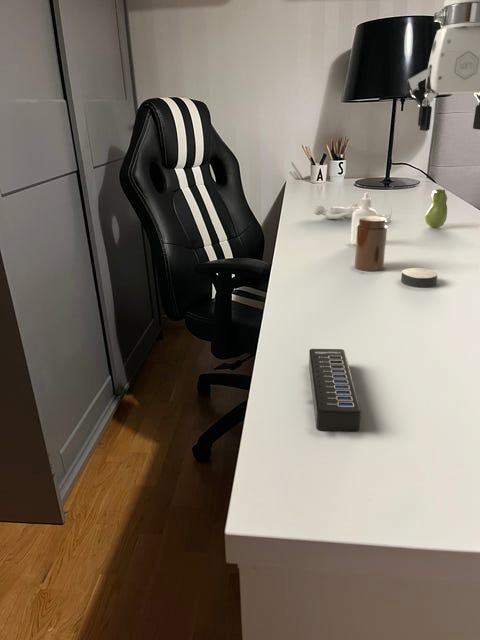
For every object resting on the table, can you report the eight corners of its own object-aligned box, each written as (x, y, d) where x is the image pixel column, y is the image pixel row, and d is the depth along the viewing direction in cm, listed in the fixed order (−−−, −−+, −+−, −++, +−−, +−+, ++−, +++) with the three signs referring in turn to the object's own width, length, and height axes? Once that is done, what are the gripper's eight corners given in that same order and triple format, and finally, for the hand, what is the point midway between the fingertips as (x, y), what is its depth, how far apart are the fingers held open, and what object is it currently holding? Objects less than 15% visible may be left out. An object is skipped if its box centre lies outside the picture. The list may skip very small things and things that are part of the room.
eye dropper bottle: (372, 246, 117) (377, 194, 113) (348, 244, 119) (352, 193, 115) (376, 242, 121) (380, 191, 116) (352, 240, 123) (356, 190, 118)
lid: (394, 278, 96) (395, 269, 95) (424, 275, 97) (425, 266, 96) (412, 289, 90) (413, 279, 89) (443, 285, 91) (444, 276, 91)
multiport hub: (316, 430, 51) (317, 411, 50) (308, 364, 65) (309, 348, 64) (360, 431, 51) (361, 412, 50) (343, 364, 64) (344, 348, 63)
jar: (378, 262, 105) (383, 215, 102) (386, 271, 100) (391, 221, 96) (351, 263, 105) (354, 216, 101) (358, 271, 100) (361, 222, 96)
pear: (446, 229, 132) (452, 190, 128) (425, 229, 133) (430, 190, 129) (443, 225, 137) (448, 187, 133) (422, 224, 138) (427, 187, 134)
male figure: (390, 210, 137) (311, 208, 143) (389, 224, 138) (310, 221, 145) (392, 204, 146) (317, 201, 152) (391, 217, 147) (316, 214, 154)
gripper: (421, 17, 80) (409, 131, 86) (530, 14, 79) (510, 129, 86) (406, 24, 86) (396, 130, 93) (507, 21, 86) (490, 128, 93)
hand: (451, 129), depth 90 cm, fingers open, 9 cm apart
